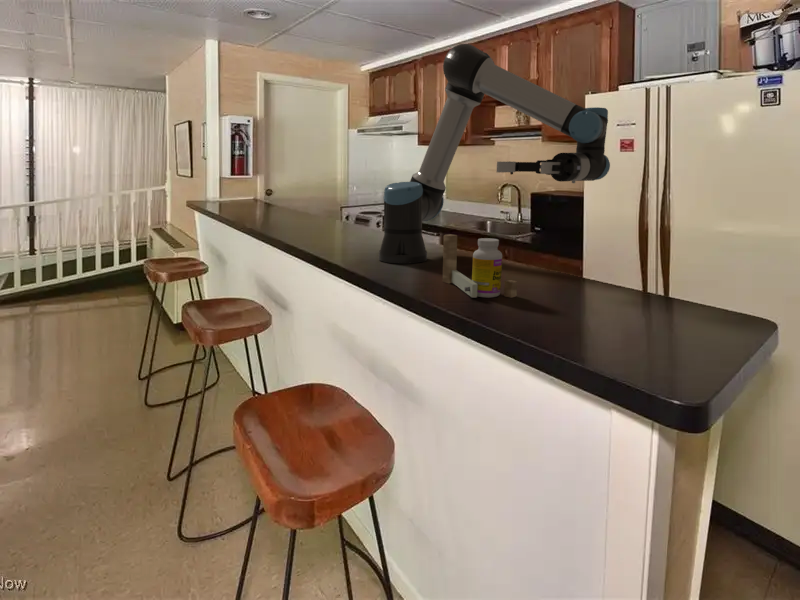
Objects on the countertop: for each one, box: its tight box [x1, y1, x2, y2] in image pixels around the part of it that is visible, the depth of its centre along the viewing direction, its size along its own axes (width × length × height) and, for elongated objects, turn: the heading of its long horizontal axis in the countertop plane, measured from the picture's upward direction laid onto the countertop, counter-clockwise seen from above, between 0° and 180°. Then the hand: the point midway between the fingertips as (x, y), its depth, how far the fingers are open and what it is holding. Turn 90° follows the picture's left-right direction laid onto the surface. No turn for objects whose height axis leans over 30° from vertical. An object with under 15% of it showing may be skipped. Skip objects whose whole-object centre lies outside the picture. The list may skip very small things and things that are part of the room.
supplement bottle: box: [471, 237, 503, 299], centre depth 122 cm, size 7×7×13 cm
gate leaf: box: [451, 269, 478, 299], centre depth 127 cm, size 16×2×3 cm, turn 11°
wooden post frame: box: [442, 233, 518, 299], centre depth 128 cm, size 22×2×12 cm, turn 41°
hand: (519, 167), depth 131 cm, fingers open, 13 cm apart
